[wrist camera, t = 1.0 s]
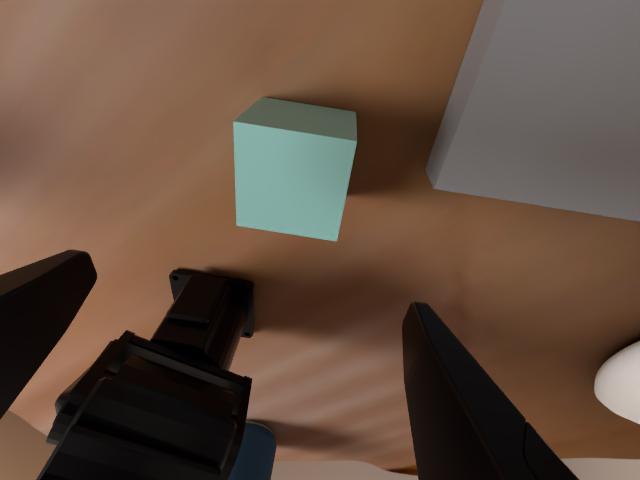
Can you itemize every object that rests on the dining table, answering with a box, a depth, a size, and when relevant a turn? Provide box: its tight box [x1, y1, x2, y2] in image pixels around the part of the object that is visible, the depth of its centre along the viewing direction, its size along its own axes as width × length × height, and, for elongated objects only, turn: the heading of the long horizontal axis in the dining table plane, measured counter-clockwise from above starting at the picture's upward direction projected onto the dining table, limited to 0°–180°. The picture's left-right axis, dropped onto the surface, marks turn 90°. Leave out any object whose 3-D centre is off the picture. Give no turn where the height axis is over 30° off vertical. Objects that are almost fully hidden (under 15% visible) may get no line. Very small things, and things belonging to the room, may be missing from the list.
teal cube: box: [233, 97, 357, 241], centre depth 16 cm, size 5×5×5 cm
